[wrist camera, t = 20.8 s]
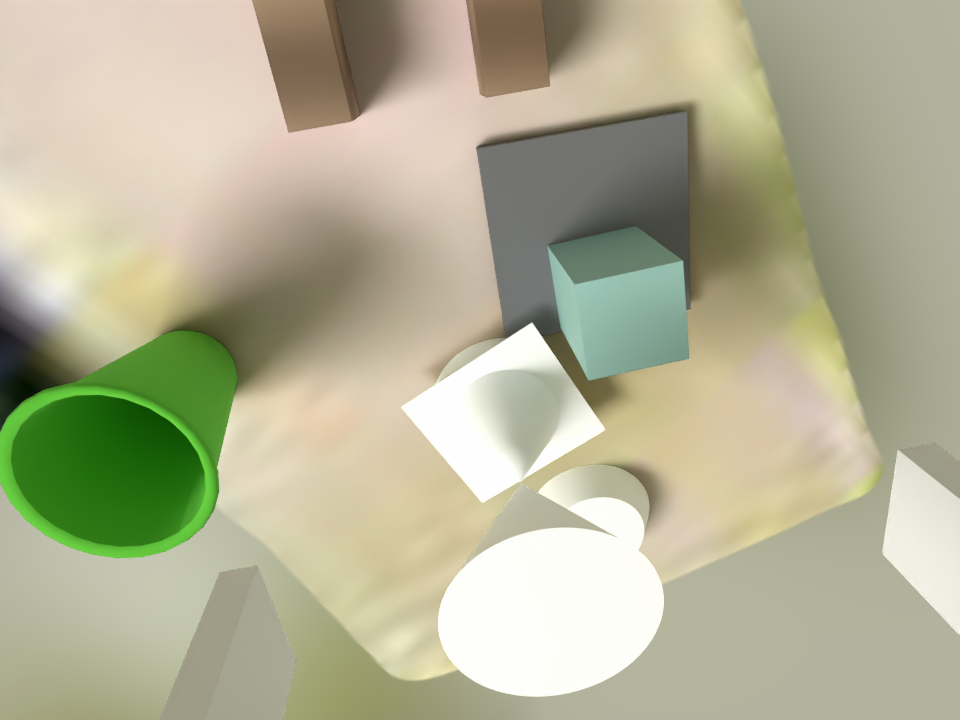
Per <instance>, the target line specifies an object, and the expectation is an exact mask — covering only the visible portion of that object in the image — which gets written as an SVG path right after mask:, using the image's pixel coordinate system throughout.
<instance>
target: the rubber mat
mask: <svg viewBox="0 0 960 720" xmlns="http://www.w3.org/2000/svg"><path fill="white" fill-rule="evenodd" d="M476 149H477V155H478V162H479V168H480V174H481V181H482V187H483V194H484V200H485V207H486V213H487V220H488V226H489V233H490V239H491V246H492V252H493V259H494V265H495V271H496V278H497V284H498V291H499V297H500V304H501V310H502V317H503V323H504V330H505V336H506V339H507V338H509V337H510V336H512V335H513V334H515V333H516V332H518V331H519V330H521V329H523V328H524V327H526V326H527V325H529V324H530V323H533V325H534V326H535V328H536V329H537V330H538V332H539V333H540V335H541V336H543V335H549V334H554V333H560V332H563V331H562V329H561V327H560V321H559V315H558V309H557V303H556V296H555V290H554V284H553V277H552V271H551V265H550V259H549V252H548V245H552V244H557V243H562V242H566V241H571V240H575V239H580V238H584V237H589V236H593V235H598V234H602V233H607V232H611V231H616V230H620V229H625V228H629V227H634V226H636V227H638V228H639V229H641V230H642V231H643V232H645V233H646V234H647V235H649V236H650V237H651V238H653V239H654V240H656V241H657V242H658V243H660V244H661V245H662V246H664V247H665V248H666V249H668V250H669V251H670V252H672V253H673V254H675V255H676V256H677V257H679V258H680V259H681V260H683V268H684V283H685V299H686V310H688V309H690V249H689V187H688V125H687V112H686V111H678V112H672V113H667V114H661V115H655V116H650V117H644V118H639V119H633V120H627V121H622V122H616V123H610V124H605V125H599V126H593V127H588V128H582V129H577V130H571V131H565V132H560V133H554V134H548V135H543V136H537V137H531V138H526V139H520V140H515V141H509V142H503V143H498V144H492V145H486V146H481V147H476Z"/></svg>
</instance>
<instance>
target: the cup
mask: <svg viewBox="0 0 960 720" xmlns="http://www.w3.org/2000/svg"><path fill="white" fill-rule="evenodd" d="M236 384H237V369H236V366H235V363H234V361H233V359H232V357H231V355H230V354H229V352H228V350H227V349H226V348H225V347H224V346H223V345H222V344H221V343H220V342H218V341H217V340H215V339H214V338H212V337H210V336H208V335H205V334H203V333H199V332H194V331H174V332H170V333H166V334H164V335H162V336H160V337H158V338H156V339H154V340H153V341H151V342H149V343H147V344H145V345H143V346H142V347H140V348H138V349H136V350H134V351H132V352H130V353H129V354H127V355H125V356H123V357H121V358H119V359H117V360H116V361H114V362H112V363H110V364H108V365H106V366H104V367H103V368H101V369H99V370H97V371H95V372H93V373H92V374H90V375H88V376H86V377H84V378H82V379H80V380H79V381H77V382H75V383H69V384H65V385H61V386H57V387H53V388H49V389H45V390H43V391H41V392H39V393H37V394H35V395H34V396H32V397H30V398H28V399H26V400H24V401H23V402H22V403H21V404H20V405H19V406H18V407H17V408H16V409H15V410H14V411H13V412H12V413H11V414H10V415H9V416H8V417H7V419H6V421H5V423H4V425H3V428H2V430H1V432H0V484H1V485H2V487H3V489H4V491H5V493H6V495H7V497H8V499H9V500H10V502H11V504H12V505H13V506H14V507H15V508H16V509H17V510H18V511H19V513H20V514H21V515H22V516H23V517H24V518H25V519H26V521H28V522H29V523H30V524H32V525H33V526H34V527H36V528H37V529H38V530H40V531H41V532H42V533H43V534H45V535H46V536H48V537H50V538H52V539H54V540H56V541H58V542H60V543H62V544H64V545H66V546H68V547H70V548H73V549H76V550H80V551H83V552H86V553H89V554H93V555H99V556H106V557H114V558H132V557H145V556H148V555H153V554H157V553H161V552H165V551H167V550H169V549H171V548H173V547H175V546H177V545H179V544H181V543H183V542H185V541H187V540H189V539H190V538H191V537H192V536H193V535H194V534H196V533H197V532H198V531H199V530H200V529H201V528H203V527H204V525H205V523H206V521H207V520H208V519H209V517H210V516H211V514H212V513H213V511H214V508H215V505H216V501H217V497H218V494H219V479H218V470H217V465H218V461H219V457H220V452H221V448H222V444H223V440H224V435H225V431H226V427H227V423H228V418H229V414H230V410H231V406H232V401H233V397H234V393H235V389H236Z"/></svg>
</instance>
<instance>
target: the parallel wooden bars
mask: <svg viewBox="0 0 960 720" xmlns="http://www.w3.org/2000/svg"><path fill="white" fill-rule="evenodd" d="M252 1H253V5H254V9H255V12H256V16H257V19H258V23H259V27H260V30H261V34H262V38H263V41H264V45H265V49H266V52H267V56H268V59H269V63H270V67H271V70H272V74H273V78H274V81H275V85H276V89H277V92H278V96H279V100H280V103H281V107H282V110H283V114H284V118H285V121H286V125H287V129H288V132H295V131H300V130H306V129H312V128H317V127H323V126H329V125H334V124H340V123H346V122H351V121H353V120H355V119H356V118H358V117H359V116H360V113H359V108H358V104H357V99H356V95H355V90H354V86H353V82H352V77H351V73H350V68H349V64H348V59H347V55H346V51H345V46H344V42H343V37H342V33H341V28H340V24H339V20H338V15H337V11H336V6H335V2H334V0H252ZM466 2H467V9H468V16H469V23H470V30H471V36H472V43H473V50H474V57H475V64H476V70H477V77H478V84H479V91H480V95H482V96H485V97H493V96H498V95H504V94H509V93H515V92H521V91H526V90H532V89H538V88H543V87H549V86H550V80H549V70H548V60H547V50H546V40H545V31H544V21H543V11H542V1H541V0H466Z"/></svg>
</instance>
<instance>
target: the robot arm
mask: <svg viewBox="0 0 960 720" xmlns="http://www.w3.org/2000/svg"><path fill="white" fill-rule="evenodd" d="M882 554H883V555H884V556H885V557H886V558H887V559H888V560H889V561H890V562H891V563H892V564H893V565H894V566H895V567H896V569H898V571H900V573H901V574H902V575H903V576H904V577H905V578H906V579H907V580H908V581H909V582H910V583H911V584H912V585H913V586H914V588H915V589H917V591H918V592H919V593H920V594H921V595H922V596H923V597H924V598H925V599H926V600H927V601H928V602H929V603H930V604H931V605H932V606H933V608H934V609H935V610H936V611H937V612H938V613H939V614H940V615H941V616H942V617H943V618H944V619H945V620H946V621H947V622H948V623H949V624H950V626H951V627H952V628H953V629H954V630H955V631H956V632H957V633H958V634H959V635H960V461H959V460H958V459H956V458H955V457H953V456H952V455H951V454H949V453H948V452H947V451H945V450H944V449H942V448H941V447H940V446H938V445H937V444H936V443H933V444H927V445H922V446H916V447H911V448H905V449H900V450H898V453H897V459H896V467H895V473H894V479H893V486H892V493H891V499H890V506H889V513H888V519H887V525H886V532H885V539H884V546H883V553H882ZM295 663H296V658H295V656H294V654H293V651H292V649H291V646H290V644H289V641H288V639H287V636H286V634H285V632H284V629H283V627H282V624H281V622H280V619H279V617H278V615H277V612H276V610H275V607H274V605H273V602H272V600H271V598H270V595H269V593H268V590H267V588H266V585H265V583H264V580H263V578H262V576H261V573H260V571H259V568H258V566H252V567H247V568H241V569H236V570H230V571H225V572H220V573H219V576H218V578H217V580H216V583H215V586H214V588H213V590H212V593H211V595H210V598H209V600H208V603H207V605H206V607H205V610H204V612H203V615H202V617H201V620H200V622H199V625H198V627H197V629H196V632H195V634H194V637H193V639H192V642H191V644H190V647H189V649H188V651H187V654H186V656H185V659H184V661H183V664H182V666H181V669H180V671H179V673H178V676H177V678H176V681H175V683H174V686H173V688H172V691H171V693H170V695H169V698H168V701H167V703H166V705H165V708H164V710H163V713H162V715H161V718H160V720H283V718H284V713H285V709H286V704H287V699H288V695H289V690H290V686H291V681H292V677H293V672H294V667H295Z"/></svg>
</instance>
